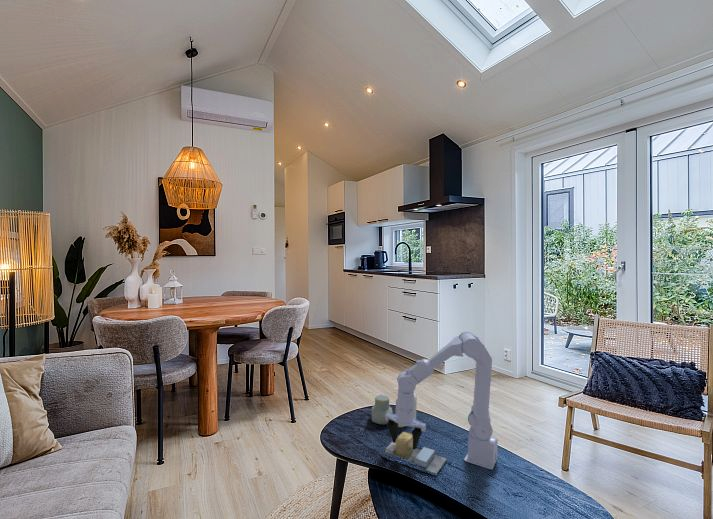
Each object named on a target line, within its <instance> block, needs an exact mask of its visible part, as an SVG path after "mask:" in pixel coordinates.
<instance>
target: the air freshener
mask: <svg viewBox="0 0 713 519" xmlns="http://www.w3.org/2000/svg"><path fill="white" fill-rule="evenodd" d="M389 397H390V396H387V395H385V394H379V395H377V396H375V397H374V405H373V406H372V407H371V421H372V422H373V423H375V424H377V425H387V423H388V421H386V415H387V414H388V413H389V414H394V413H393V408H392V407H391V406H390V398H389Z"/></svg>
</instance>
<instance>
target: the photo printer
mask: <svg viewBox="0 0 713 519" xmlns="http://www.w3.org/2000/svg"><path fill="white" fill-rule="evenodd" d="M417 399H418V398H417V394H416V393H415V392H414V419H416V420H417V404H418V403H417V401H418V400H417ZM397 401H398V398H396V400H395V411H394V412H395V414H396V415H397ZM404 427H406V426H403V425H400V424H398V428H404Z"/></svg>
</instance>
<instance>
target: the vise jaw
mask: <svg viewBox="0 0 713 519" xmlns="http://www.w3.org/2000/svg"><path fill="white" fill-rule="evenodd" d="M420 450H421V451H420V452H419V454H418V455H417V456H416V457H415V464H417V465H419V466H422V467H425V468H426V467H427V466H428V464H429V463H430V462H431V460H432V459H433V458H434V456H435V455H436V454H435V453H436V450H434V449H431V448H428V447H426V446H423V447H422V448H421V449H420Z"/></svg>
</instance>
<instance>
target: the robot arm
mask: <svg viewBox="0 0 713 519" xmlns="http://www.w3.org/2000/svg"><path fill="white" fill-rule="evenodd" d="M487 349H488V348H486V345H485V344H483V342H482V341H481V340H480V339H479V337H477V336H476V335H475V334H474V333H472V332H471V331H464V332H463V331H462V332H461V333H460V334H459V335H457V336H455V337H453V338H452V339H451V340H450V341H449V342H448V343H447V344H446V345H445V346H443V347H441V349H439V350H438V351H437V352H436V353H435V354H433V355H432V356H431V357H429V359H427V358H422V359H421V360H420V359H418V360H416V363H415V364H414V365H413V366H411V367H410V368H406V369H405V370H404V371H401V372H400V373H399V374H398V376H397V377H396V380H397V385H398V386H397V387H398V388H397V399H398V401H397V415H396V414H394V413H393V414H389V413H388V414H387V415H386V421H388V423H387V424H386V427H387V429H388V430H389V432H390V435H391V441H393V443H395V442H396V438H397V437H398V429H399V427H398V424H400V425H403V426H405V427H410V428H414V429H413V430H412V431H411V434H412V436H413V449H414V450H415V449H418V445H419V440H420V437H421V435H422V434H423V433H424V432H425V431H426V430H427V424H426V423H425V422H422V421H420V420H418V419H417V418H416V419H414V393H415V390H416V388H417V385H419V384H420V383H422V382H423V381H425V379H427V378H428V377H430V376H431V375H433V374H434V371H435V370H434V369H435V368H436V367H438V366H440V365H441V364H443V363H444V362H446V361H448V360H449V359H450V358H452V357H461V358H462V357H464V355H465V356H467V357H468V358H470V359H472V360H474V361H475V375H474V389H473V390H474V392H473V404H472V405H471V407H470V412H469V414H468V415H467V421H468V422H467V423H468V424H469V425H470V427H469V430H468V442H467V444H468V446H467V453H466V455H465V457H464V458H463V459H464V460H463V462H467V463H469V464H473V465H476V466H479V467H482V468H485V469H488V470H493V469H494V467H495V466H496V465H495V464H496V463H497V460H498V447H499V446H498V439H497V438H496V437H493V436H492V435H493V431H494V430H493V427H492V424H491V422H492V421H491V415H490V409H489V408H490V397H491V396H490V395H491V381H492V368H493V367H492V366H493V359H492V358H493V357H492V356H491V354H490V353H489V351H488V350H487Z"/></svg>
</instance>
